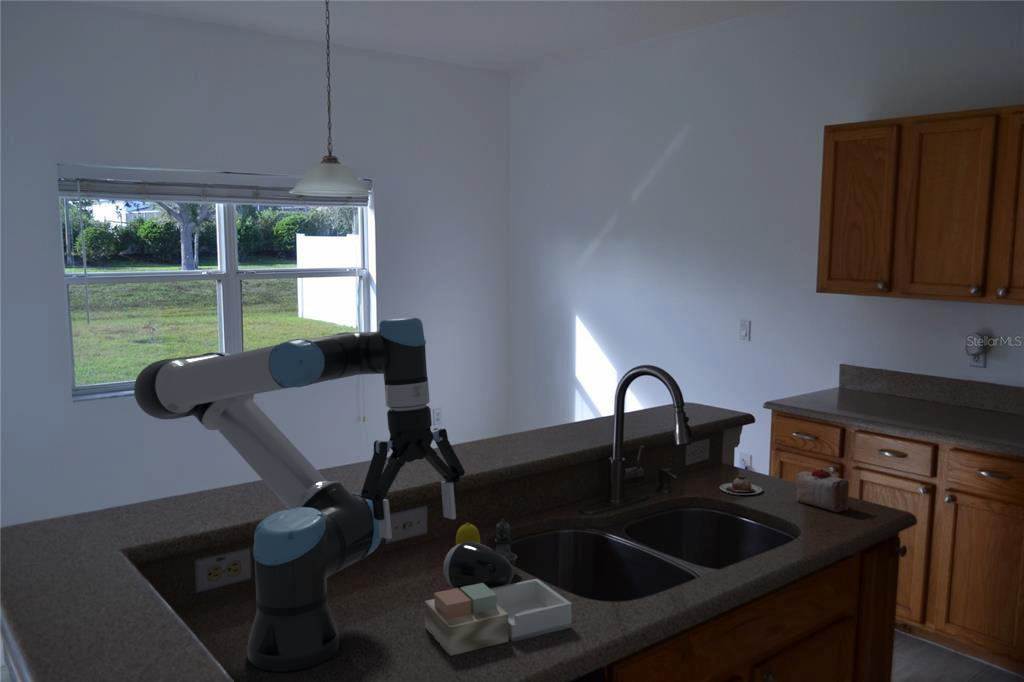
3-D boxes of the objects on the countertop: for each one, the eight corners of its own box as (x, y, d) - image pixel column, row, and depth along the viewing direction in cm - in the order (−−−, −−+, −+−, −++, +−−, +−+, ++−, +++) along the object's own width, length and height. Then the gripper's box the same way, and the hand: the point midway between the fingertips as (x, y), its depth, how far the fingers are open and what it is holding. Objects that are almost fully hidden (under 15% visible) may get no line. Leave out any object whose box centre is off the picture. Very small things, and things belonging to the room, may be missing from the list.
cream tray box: (450, 655, 133) (449, 627, 133) (425, 627, 144) (424, 601, 144) (508, 641, 138) (508, 613, 138) (480, 615, 149) (479, 589, 149)
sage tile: (473, 613, 138) (473, 599, 138) (460, 600, 144) (460, 587, 143) (496, 608, 140) (496, 594, 140) (482, 595, 146) (482, 582, 145)
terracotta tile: (447, 619, 136) (446, 605, 136) (434, 606, 141) (434, 592, 141) (471, 614, 138) (470, 600, 138) (457, 601, 143) (457, 588, 143)
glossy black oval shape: (444, 532, 160) (501, 540, 151) (475, 547, 167) (532, 556, 157) (428, 582, 156) (485, 594, 147) (461, 596, 163) (518, 608, 153)
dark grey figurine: (484, 575, 168) (484, 520, 167) (498, 566, 173) (497, 512, 172) (509, 580, 166) (508, 524, 164) (522, 570, 171) (521, 516, 170)
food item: (790, 501, 218) (791, 466, 217) (809, 497, 222) (809, 462, 222) (834, 514, 207) (835, 477, 206) (852, 509, 211) (854, 472, 210)
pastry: (764, 499, 222) (764, 483, 222) (719, 496, 225) (720, 481, 225) (760, 487, 234) (761, 472, 233) (719, 485, 237) (719, 470, 236)
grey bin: (512, 641, 138) (512, 617, 138) (481, 613, 150) (481, 590, 149) (571, 627, 143) (571, 603, 143) (537, 600, 155) (537, 578, 155)
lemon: (452, 560, 177) (452, 526, 176) (460, 552, 182) (459, 518, 181) (476, 562, 176) (476, 527, 175) (483, 553, 181) (482, 519, 180)
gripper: (356, 420, 126) (368, 550, 127) (477, 397, 142) (487, 513, 144) (333, 417, 132) (344, 542, 133) (452, 395, 148) (461, 507, 149)
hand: (418, 527), depth 138 cm, fingers open, 13 cm apart
